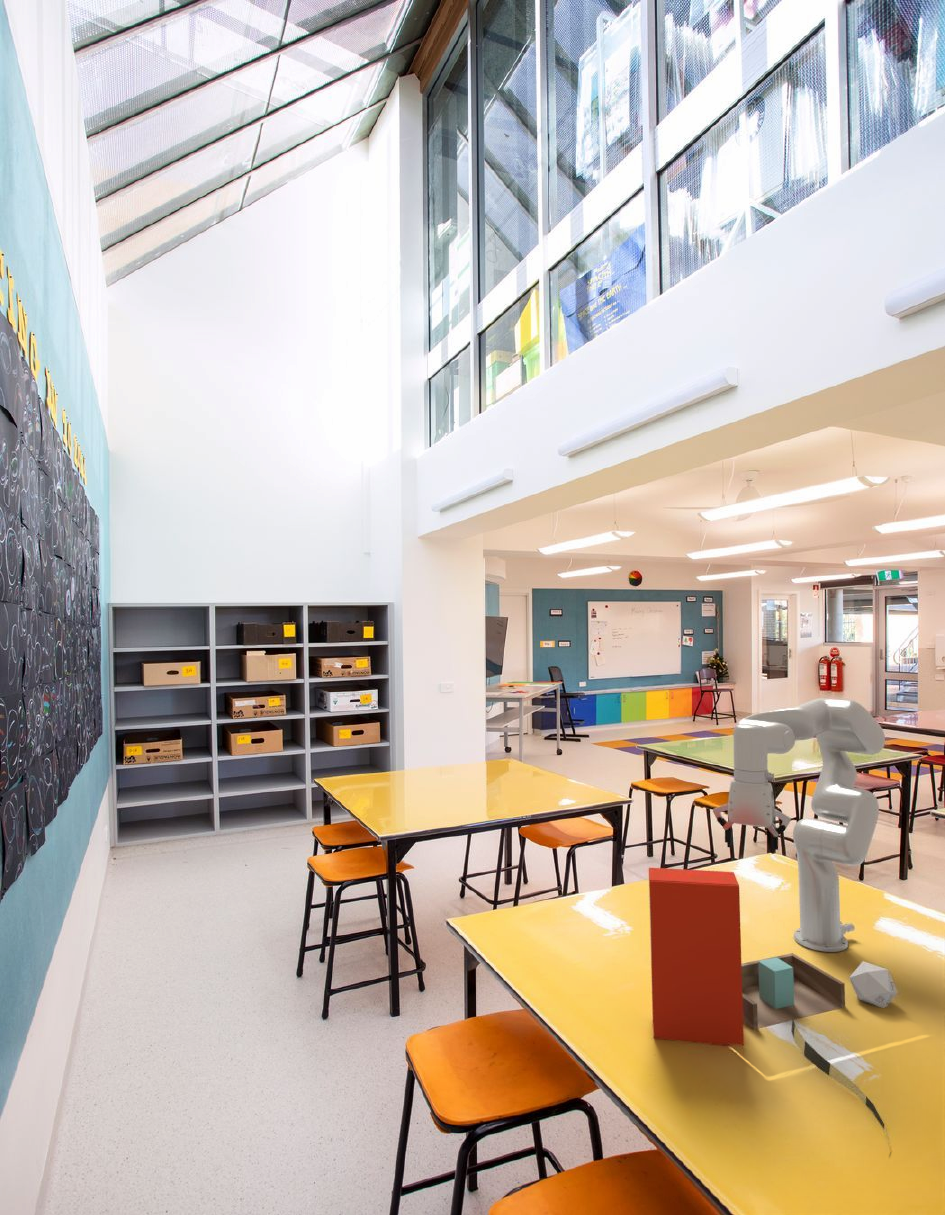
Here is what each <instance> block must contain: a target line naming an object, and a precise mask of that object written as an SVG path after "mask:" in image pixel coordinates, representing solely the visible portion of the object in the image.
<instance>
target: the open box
mask: <svg viewBox="0 0 945 1215" xmlns="http://www.w3.org/2000/svg"><path fill="white" fill-rule="evenodd" d="M776 957H777V958H778V959H780V960H782V961H783V962H785V963H787V964H788V965H790V966H791V967H793V979H794V1005H791V1006H787V1007H782V1008H778V1009H775V1008H773V1007H772V1006H771V1005H769V1004H768V1003H766V1002H765V1001H764V1000H762V999H761V998H759V969H758V961H762V960H766V959H771V958H776ZM741 965H742V1000H743V1023H745V1024H746V1025H747V1026H748V1027H750V1028H751V1029H752V1030H758V1029H762V1028H765V1027H770V1026H773V1025H777V1024H781V1023H782V1024H783V1023H786V1022H790V1021H792V1019H793V1021H795V1020H798V1019H802V1018H806V1017H810V1016H815V1015H819V1014H823V1013H827V1012H830V1011H836V1010H840V1009H843V1008H846V992H845V991H846V988H845V987H846V986H845V982H843V981H841V980H839V979H838V978H836V977H834V976H833V975H831V974H829V973H828V972H826V971H824V970H823V969H820V968H819V967H817V966H815V965H814V964H812V963H811V962H809V961H807V960H806V959H804V958H802V957H800V956H798V955H797V954H795V953H793V952H792V953H787V954H782V955H781V954H780V955H778V956H777V955H776V956H772V957H771V956H770V957H767V958H762V959H757V960H753V961H748V962H747V961H746V962H742V963H741Z"/></svg>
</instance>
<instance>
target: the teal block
mask: <svg viewBox="0 0 945 1215" xmlns="http://www.w3.org/2000/svg"><path fill="white" fill-rule="evenodd" d="M775 957H776V956H775ZM770 958H771V957H770ZM765 959H766V960H762V959H761V960H762V961H758V969H759V998H761V999H762V1000H764V1001H765V1002H766V1003H768V1004H769V1005H771V1006H772V1007H773V1008H775V1009H778V1008H782V1007H787V1006H791V1005H794V979H793V967H791V966H790V965H788V964H787V963H785V962H783V961H782V960H780V959H778V958H777V957H776V958H771V959H767V958H765Z"/></svg>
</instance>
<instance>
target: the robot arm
mask: <svg viewBox="0 0 945 1215" xmlns="http://www.w3.org/2000/svg"><path fill="white" fill-rule="evenodd" d="M732 734H733V735H732V736H733V778H732V779H731V780H730V786H729V792H728V802H727V803H725V804H722V805H719V806H717V807H715V808H713V810H712V814H714V817H715V819H716V821H717V822H718V824H720V826H721V827H722V829H723V830H724V843H727V846H726V847H727V848H732V846H733V845H734V842H733V840H734V837H733V836H734V834H733V832H734V831H733V827H732V826H733V825H735V824H737V825H744V826H750V827H751V826H752V827H759V828H760V827H761V828H767V830H768V831H769V832H770V834H771V835H770V854H771V855H774V854H775V853H776V851H779V836H780V835H781V834H782V833H783V832H785V831H786V829H787V828H788V826H789V824H790V823H791V821H792V819H791V817H789V816H788V815H787V814H784V812H781V811H779V810H778V809H776V808H775V798H774V790H773V785H772V783H771V782H769V781H771V780H775V774H774V773H772V772H769V770H768V754H771V755H774V754H775V755H783V754H786V753H788V752H790V751H791V750H792V749H793V748H794V746H795V743H796V742H797V741H805V740H809V739H812V738H813V737H815V736H816V741H817V744H818V746H819V751H820V755H821V759H822V767H821V771H820V774H819V777H818V780H817V783H816V786H815V789H814V792H813V795H812V797H811V804H810V806H811V810H812V812H813V814H815V815H816V816H818V817H820V818H822V819H826V820H822V819H819V818H814V817H813V818H812V817H811V818H810V817H806V818H802V819H800V820H798V821H797V822H796V823H795V824H794V826H793V831H792V837H793V838H792V840H793V844H794V847H795V853H796V858H797V867H798V869H797V870H798V892H799V893H798V896H799V899H798V900H799V904H798V905H799V928H797V929H796V930H794V932H793V937H794V941H796V942H797V943H798V944H799V945H800V946H803V947H805V948H808V949H810V950H814V951H819V952H824V953H837V952H843V951H844V950H846V949H848V946H849V942H848V940H847V938H846V937H845V934H846V933H849V932H854V931H855V929H856V928H855V925H854V924H853V923H851V922H849V923H844V924H843V923H842V921H841V910H840V909H841V908H840V907H841V905H840V904H841V903H840V902H841V900H840V876H839V873H838V870H837V868H836V866H835V864H834V863H837V864H840V865H845V866H849V867H857V866H860V865H861V864H863V863H864V862H865V859H866V858H867V855H868V852H869V850H870V846H871V842H872V839H873V838H874V837H873V836H874V834H875V830H876V827H877V824H878V820H879V819H878V818H879V814H880V813H879V812H880V811H879V810H880V807H879V801H878V798H877V796H876V795H875V794H874V793H873V792H871V791H870V790H867V789H864V788H858V787H855V784H856V780H857V777H858V775H857V774H858V772H857V769H856V767H855V764H854V762H853V761H852V760H851V758H850V756H848V753H854V754H861V755H876V754H879V753H880V752H882V750H883V749H884V747H885V743H886V736H885V732H884V729H883V728H882V726H881V724H879V722H878V721H877V720H876V719H875V717H873V716H872V714H871V712H869V711H868V710H867V708H866V707H864V706H863V705H862V704H861V703H859V702H857V701H855V700H850V699H842V698H841V699H840V698H826V697H825V698H824V697H819V698H816V699H812V700H809V701H807V702H804V703H802V704H799V705H797V706H794V707H791V708H782V709H777V710H771V711H770V710H769V711H763V712H758V713H754V714H752V715H749V716H748V715H747V716H744V718H742V719H740V720H739V721H738V722H736V724H735V726H734V728H733V732H732ZM847 752H848V753H847ZM725 811H727V819H728V821H727V820H726V819H725V818H724V817H723V815H722V812H725ZM776 817H777V818H778V819H780V820H781V821H782V823H781V824H780V825H779V826H776V824H775V821H776ZM832 821H833V822H832ZM834 822H837V823H834ZM838 822H839V823H838ZM840 823H842V824H840ZM845 824H847V825H845Z"/></svg>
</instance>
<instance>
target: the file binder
mask: <svg viewBox="0 0 945 1215" xmlns="http://www.w3.org/2000/svg"><path fill="white" fill-rule="evenodd" d="M648 887H649V888H648V891H649V893H648V894H649V896H648V897H649V899H648V900H649V929H650V930H649V933H650V934H649V935H650V936H649V937H650V966H651V967H650V968H651V969H650V970H651V972H650V973H651V1002H652V1006H651V1007H652V1029H653V1039H657V1040H658V1039H659V1040H665V1041H666V1040H668V1041H679V1042H686V1043H687V1042H688V1043H696V1044H707V1045H715V1046H716V1045H717V1046H727V1047H732V1045H739V1046H744V1045H745V1041H744V1039H745V1038H744V1037H745V1036H744V1021H743V1000H742V965H741V964H742V942H741V941H742V940H741V936H742V934H741V905H740V902H741V900H740V898H741V897H740V896H741V894H740V884H739V882H738V879H737V876H736V874H735V873H734V871H724V870H723V871H721V870H719V871H718V870H704V869H701V870H699V869H681V868H664V867H648Z"/></svg>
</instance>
